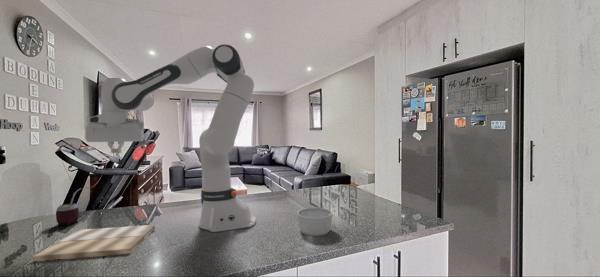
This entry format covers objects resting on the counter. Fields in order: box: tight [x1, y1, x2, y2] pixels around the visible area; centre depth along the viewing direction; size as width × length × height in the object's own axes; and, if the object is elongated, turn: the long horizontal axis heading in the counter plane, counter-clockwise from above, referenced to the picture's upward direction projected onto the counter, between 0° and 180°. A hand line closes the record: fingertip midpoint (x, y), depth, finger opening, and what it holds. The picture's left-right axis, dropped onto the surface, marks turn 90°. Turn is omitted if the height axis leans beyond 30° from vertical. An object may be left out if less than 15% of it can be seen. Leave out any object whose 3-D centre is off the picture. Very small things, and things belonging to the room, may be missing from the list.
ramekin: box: [296, 206, 333, 237], centre depth 99 cm, size 13×13×7 cm
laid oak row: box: [32, 236, 145, 263], centre depth 84 cm, size 26×10×2 cm, turn 100°
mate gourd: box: [55, 187, 82, 227], centre depth 108 cm, size 8×8×15 cm
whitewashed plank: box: [58, 224, 156, 242], centre depth 94 cm, size 26×10×2 cm, turn 100°
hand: (116, 153), depth 107 cm, fingers closed
